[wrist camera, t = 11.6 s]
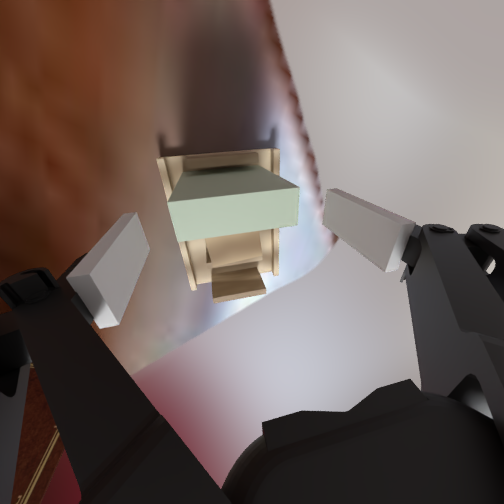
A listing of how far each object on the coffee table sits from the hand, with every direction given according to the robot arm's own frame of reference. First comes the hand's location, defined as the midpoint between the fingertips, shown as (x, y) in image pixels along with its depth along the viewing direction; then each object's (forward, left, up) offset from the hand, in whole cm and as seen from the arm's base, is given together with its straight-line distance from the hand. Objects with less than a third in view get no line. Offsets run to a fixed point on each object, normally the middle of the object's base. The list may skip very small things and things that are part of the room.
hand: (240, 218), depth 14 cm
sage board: (0, 0, -16) cm, 16 cm away
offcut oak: (+7, 0, -12) cm, 14 cm away
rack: (+7, 0, -17) cm, 18 cm away
